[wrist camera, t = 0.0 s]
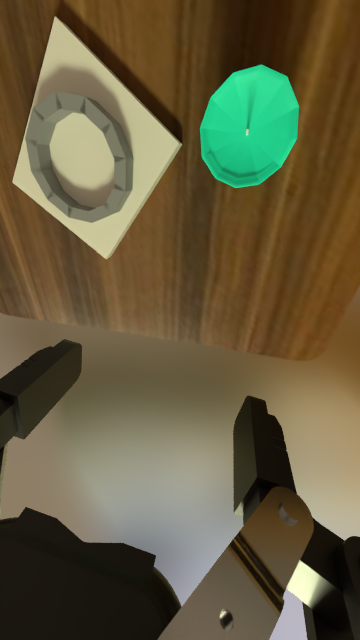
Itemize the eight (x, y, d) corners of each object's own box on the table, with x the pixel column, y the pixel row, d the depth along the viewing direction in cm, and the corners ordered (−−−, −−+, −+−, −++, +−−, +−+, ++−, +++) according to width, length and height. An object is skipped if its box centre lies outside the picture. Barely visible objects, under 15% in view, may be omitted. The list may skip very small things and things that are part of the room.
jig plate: (65, 24, 21) (38, 3, 19) (182, 144, 24) (174, 141, 21) (21, 181, 30) (-2, 183, 27) (111, 255, 33) (98, 264, 30)
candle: (226, 189, 26) (214, 206, 16) (207, 125, 23) (179, 97, 13) (285, 162, 23) (314, 163, 14) (271, 87, 21) (294, 20, 11)
